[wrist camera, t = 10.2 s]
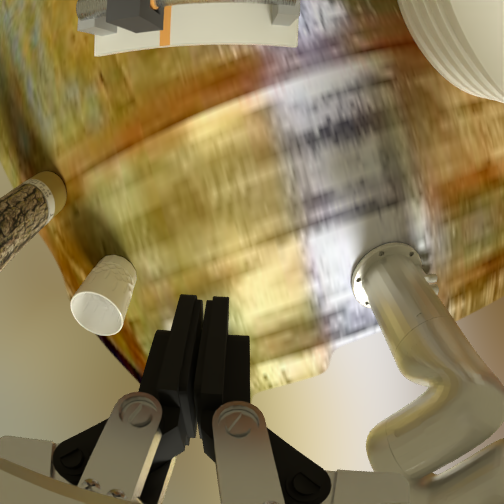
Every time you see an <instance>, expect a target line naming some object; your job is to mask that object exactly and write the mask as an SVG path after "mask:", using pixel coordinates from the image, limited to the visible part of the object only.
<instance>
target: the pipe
mask: <svg viewBox="0 0 504 504" xmlns="http://www.w3.org/2000/svg"><path fill="white" fill-rule="evenodd" d="M153 2H154V5H155V7H165V6H175V5H187V4H204V3H256V4H273V5H279V4H280V5H291V6H295V4H296V0H153ZM106 9H107V0H78V2H77V6H76V11H77V16H78V18H79V19H80V20H81V21H85V20H89V19H93V18H99V17H104V16H106Z"/></svg>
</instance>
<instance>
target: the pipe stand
mask: <svg viewBox="0 0 504 504" xmlns="http://www.w3.org/2000/svg"><path fill="white" fill-rule="evenodd" d="M299 16H300V0H296V4H295V6H291V5H280V4H279V5H273V4H256V3H204V4H187V5H175V6H171V27H170V45H168V46H160V30H159V31H150V32H142V33H134V32H132V31H129V30H126V29H124V28H121V27H118V26H115V25H113V24H110V23H107V22H106V16H104V17H99V18H93V19H89V20H85V21H81V20H80V19H79V18H78V31H81V32H86V33H90V34H95V52H94V56H105V55H110V54H116V53H122V52H129V51H136V50H144V49H152V48H162V47H174V46H189V45H217V44H238V45H266V46H281V47H293V48H296V47H297V43H298V19H299Z"/></svg>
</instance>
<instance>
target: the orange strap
mask: <svg viewBox="0 0 504 504" xmlns="http://www.w3.org/2000/svg"><path fill="white" fill-rule="evenodd" d="M150 8H151V9H153V10H155V9H158V8H159V7H155V5H154V2H153V0H150ZM170 27H171V6H165V7H164V22H163V30H160V46H168V45H170Z"/></svg>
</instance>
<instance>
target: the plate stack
mask: <svg viewBox="0 0 504 504" xmlns="http://www.w3.org/2000/svg"><path fill="white" fill-rule="evenodd" d="M397 1H398V5H399V8H400V11H401V14H402V16H403V19H404V21H405V24H406V26H407V28H408V30H409V32H410V34H411V36H412V37H413V39H414V41H415V42H416V44H417V46H418V47H419V49H420V50H421V52H422V53H423V54H424V56H425V57H426V58H427V60H428V61H429V62H430V63H431V65H432V66H433V67H434V68H435V69H436V70H437V71H438V72H439V73H440V74H441V75H442V76H443V77H444V78H445V79H446V80H448V81H449V82H450V83H452V84H453V85H454V86H456V87H457V88H459V89H461V90H462V91H464V92H466V93H469V94H471V95H474V96H478V97H482V98H487V99H491V100H495V101H499V102H502V103H504V0H397Z"/></svg>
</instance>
